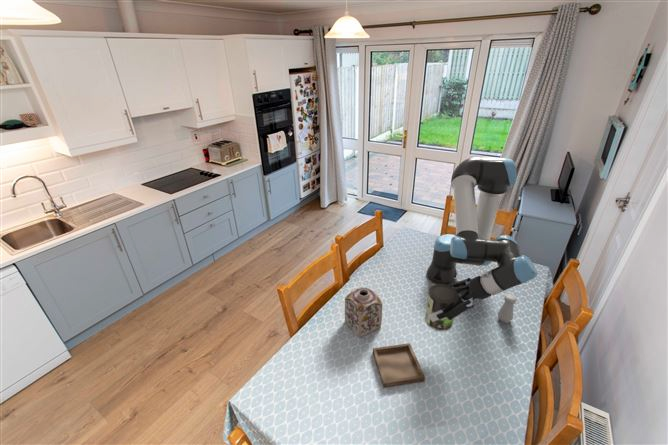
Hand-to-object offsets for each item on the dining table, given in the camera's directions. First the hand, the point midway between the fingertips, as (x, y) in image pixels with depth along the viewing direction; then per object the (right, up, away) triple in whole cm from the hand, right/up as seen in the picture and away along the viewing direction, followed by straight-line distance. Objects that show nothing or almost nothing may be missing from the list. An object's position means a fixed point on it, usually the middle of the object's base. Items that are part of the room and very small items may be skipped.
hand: (432, 308), depth 117 cm
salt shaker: (+37, -10, +18) cm, 42 cm away
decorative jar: (-25, -12, +18) cm, 32 cm away
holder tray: (-13, -21, -1) cm, 25 cm away
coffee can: (+3, -5, +2) cm, 6 cm away
